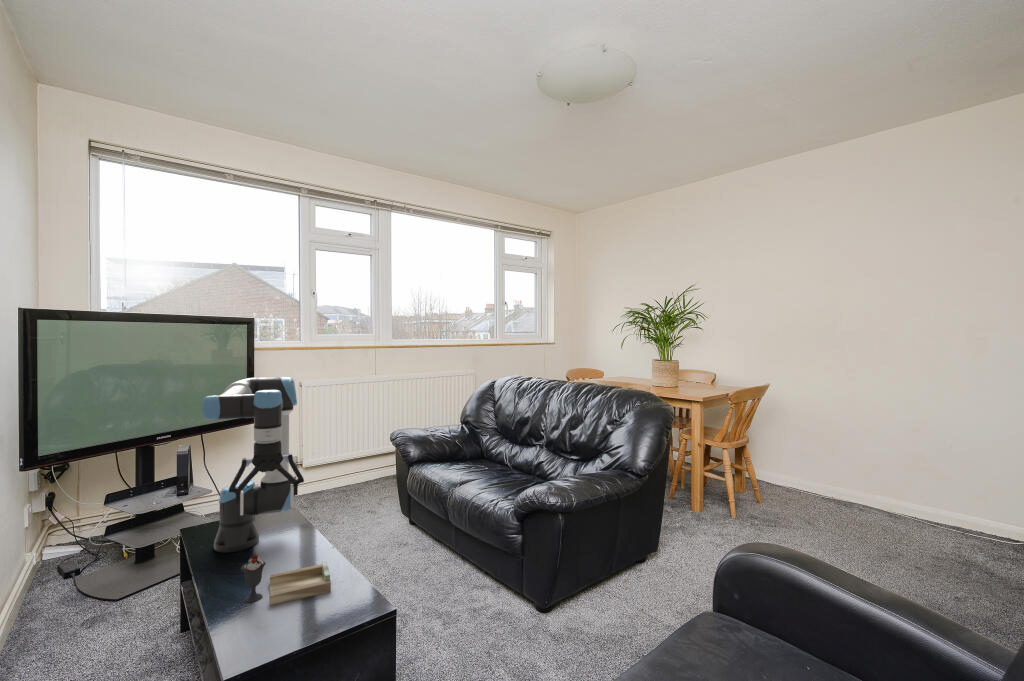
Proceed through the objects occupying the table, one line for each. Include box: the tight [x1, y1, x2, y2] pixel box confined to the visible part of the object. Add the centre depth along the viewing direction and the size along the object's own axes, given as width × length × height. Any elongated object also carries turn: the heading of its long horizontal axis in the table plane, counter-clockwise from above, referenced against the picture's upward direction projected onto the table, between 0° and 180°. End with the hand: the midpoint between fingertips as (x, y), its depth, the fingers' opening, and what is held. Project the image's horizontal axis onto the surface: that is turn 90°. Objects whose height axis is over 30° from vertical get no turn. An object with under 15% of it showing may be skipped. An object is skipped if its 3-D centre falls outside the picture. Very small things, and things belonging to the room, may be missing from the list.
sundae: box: [240, 551, 267, 604], centre depth 140 cm, size 7×7×15 cm
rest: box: [269, 561, 332, 607], centre depth 146 cm, size 14×17×4 cm
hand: (267, 509), depth 140 cm, fingers open, 13 cm apart
